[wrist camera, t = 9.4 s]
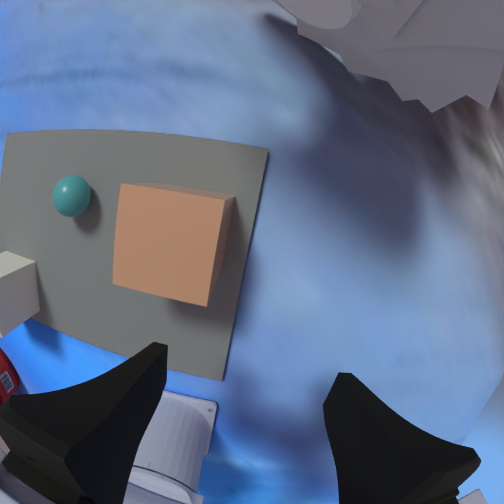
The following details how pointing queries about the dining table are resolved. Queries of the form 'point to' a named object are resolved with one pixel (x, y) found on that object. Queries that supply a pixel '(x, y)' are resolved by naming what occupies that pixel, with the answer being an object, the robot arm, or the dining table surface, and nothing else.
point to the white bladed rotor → (413, 43)
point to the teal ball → (71, 196)
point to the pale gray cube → (17, 291)
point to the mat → (103, 236)
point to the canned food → (7, 378)
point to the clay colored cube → (170, 240)
